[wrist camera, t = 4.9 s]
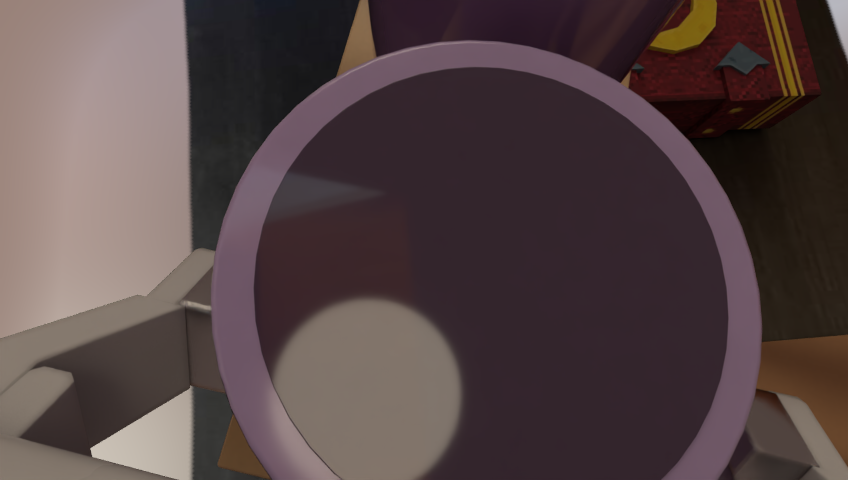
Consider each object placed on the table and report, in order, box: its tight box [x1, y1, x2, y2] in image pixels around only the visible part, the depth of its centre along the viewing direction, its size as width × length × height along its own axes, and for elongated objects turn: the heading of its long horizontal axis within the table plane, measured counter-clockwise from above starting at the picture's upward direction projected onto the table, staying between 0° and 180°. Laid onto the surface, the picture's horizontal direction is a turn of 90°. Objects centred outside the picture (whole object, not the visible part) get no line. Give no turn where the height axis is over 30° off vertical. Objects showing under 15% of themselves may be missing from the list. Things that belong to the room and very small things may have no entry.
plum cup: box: [367, 0, 685, 83], centre depth 12 cm, size 7×7×9 cm
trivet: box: [756, 335, 848, 467], centre depth 26 cm, size 13×13×1 cm
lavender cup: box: [210, 40, 762, 480], centre depth 10 cm, size 7×7×9 cm
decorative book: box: [629, 0, 821, 139], centre depth 29 cm, size 11×16×5 cm
